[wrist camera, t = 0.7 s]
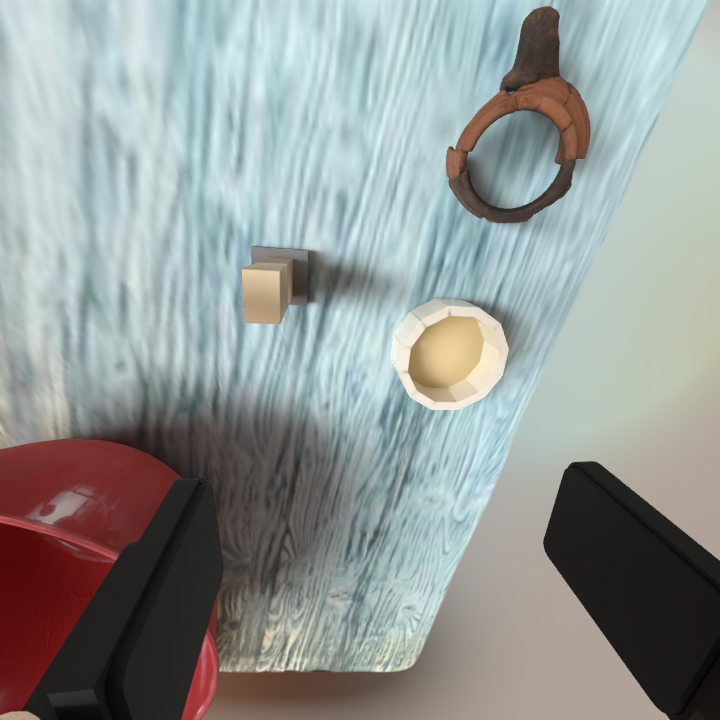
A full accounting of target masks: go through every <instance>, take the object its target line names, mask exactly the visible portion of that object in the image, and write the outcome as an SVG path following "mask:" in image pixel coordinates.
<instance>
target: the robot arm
mask: <svg viewBox="0 0 720 720" xmlns="http://www.w3.org/2000/svg"><path fill="white" fill-rule="evenodd" d="M543 544H544V549H545V552H546V554H547V556H548V557H549V559H550V560H551V561H552V563H553V564H554V566H555V567H556V568H557V570H558V571H559V573H560V574H561V575H562V577H563V578H564V579H565V581H566V582H567V584H568V585H569V587H570V588H571V589H572V591H573V592H574V594H575V595H576V596H577V598H578V599H579V600H580V602H581V603H582V605H583V606H584V608H585V609H586V610H587V612H588V613H589V614H590V616H591V617H592V619H593V620H594V621H595V623H596V624H597V626H598V627H599V628H600V630H601V631H602V632H603V634H604V635H605V637H606V638H607V640H608V641H609V642H610V644H611V645H612V647H613V648H614V649H615V651H616V652H617V653H618V655H619V656H620V658H621V659H622V661H623V662H624V663H625V665H626V666H627V668H628V669H629V670H630V672H631V673H632V675H633V676H634V677H635V679H636V680H637V681H638V683H639V684H640V686H641V687H642V688H643V690H644V691H645V693H646V694H647V696H648V697H649V698H650V700H651V701H652V702H653V703H654V705H655V706H656V707H657V708H658V709H659V710H660V711H662V712H663V713H666V715H667V716H668V718H669V719H670V720H720V561H719V560H718V559H717V558H715V557H714V556H713V555H712V554H711V553H709V552H708V551H707V550H706V549H704V548H703V547H702V546H701V545H699V544H698V543H697V542H696V541H694V540H693V539H692V538H691V537H689V536H688V535H687V534H686V533H685V532H683V531H682V530H681V529H680V528H678V527H677V526H676V525H674V524H673V523H672V522H671V521H670V520H668V519H667V518H666V517H665V516H663V515H662V514H661V513H660V512H659V511H657V510H656V509H655V508H654V507H652V506H651V505H650V504H649V503H648V502H646V501H645V500H644V499H643V498H641V497H640V496H639V495H637V494H636V493H635V492H634V491H633V490H631V489H630V488H629V487H628V486H626V485H625V484H624V483H623V482H621V481H620V480H619V479H618V478H617V477H615V476H614V475H613V474H612V473H610V472H609V471H608V470H607V469H605V468H604V467H603V466H602V465H600V464H599V463H597V462H593V461H589V462H574V463H571V464H570V465H569V467H568V468H567V469H566V470H565V471H564V474H563V477H562V480H561V484H560V487H559V490H558V494H557V497H556V500H555V504H554V507H553V511H552V514H551V517H550V521H549V524H548V527H547V530H546V534H545V537H544V541H543ZM222 573H223V561H222V553H221V546H220V539H219V532H218V525H217V517H216V510H215V503H214V496H213V489H212V485H211V484H205V482H204V480H203V478H187V479H177V480H175V481H174V483H173V484H172V486H171V487H170V489H169V491H168V492H167V494H166V496H165V498H164V499H163V501H162V503H161V504H160V506H159V508H158V509H157V511H156V513H155V514H154V516H153V518H152V519H151V521H150V523H149V524H148V526H147V528H146V529H145V531H144V533H143V534H142V536H141V538H140V539H139V541H138V542H131V543H129V544H128V545H127V546H126V547H125V548H124V549H123V551H122V552H121V553H120V555H119V556H118V558H117V559H116V561H115V563H114V564H113V566H112V567H111V569H110V570H109V572H108V574H107V575H106V577H105V578H104V580H103V582H102V583H101V585H100V586H99V588H98V589H97V591H96V593H95V594H94V596H93V597H92V599H91V601H90V602H89V604H88V605H87V607H86V608H85V610H84V612H83V613H82V615H81V616H80V618H79V620H78V621H77V623H76V624H75V626H74V627H73V629H72V631H71V632H70V634H69V635H68V637H67V638H66V640H65V642H64V643H63V645H62V646H61V648H60V650H59V651H58V653H57V654H56V656H55V657H54V659H53V661H52V662H51V664H50V665H49V667H48V669H47V670H46V672H45V673H44V675H43V676H42V678H41V680H40V681H39V683H38V684H37V686H36V688H35V689H34V691H33V692H32V694H31V695H30V697H29V699H28V700H27V702H26V703H25V705H24V707H23V708H22V710H21V711H20V712H9V713H6V714H3V715H0V720H181V718H182V715H183V711H184V708H185V705H186V701H187V698H188V694H189V691H190V687H191V684H192V680H193V677H194V673H195V670H196V666H197V663H198V659H199V656H200V652H201V649H202V645H203V642H204V639H205V635H206V632H207V628H208V625H209V621H210V618H211V614H212V611H213V607H214V604H215V600H216V597H217V593H218V590H219V586H220V583H221V579H222Z"/></svg>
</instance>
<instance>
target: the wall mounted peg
mask: <svg viewBox="0 0 720 720" xmlns="http://www.w3.org/2000/svg"><path fill="white" fill-rule="evenodd" d="M251 259H252V265H250V266H248V267H246V268H244V269H242V280H243V299H244V318H245V323H263V324H280V323H281V321H282V319H283V317H284V314H285V312H286V310H287V308H288V305H307V302H308V250H300V249H285V248H271V247H256V246H253V247H251Z"/></svg>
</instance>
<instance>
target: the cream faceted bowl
mask: <svg viewBox="0 0 720 720" xmlns="http://www.w3.org/2000/svg"><path fill="white" fill-rule="evenodd" d="M410 311H411V312H410ZM410 311H409V313H408V314H407V315H406V317H405V318H404V320H403V321H402V322H401V324H400V325H399V327H398V328H397V329H396V331H395V332H394V334H393V343H392V352H391V361H392V363H393V365H394V367H395V369H396V371H397V373H398V375H399V377H400V380H401V381H402V383H403V385H404V387H405V389H406V391H407V393H408V395H409V396H410V397H411V398H412V399H414V400H416V401H418V402H419V403H421V404H423V405H424V406H426V407H428V408H429V409H432V410H460V409H462V408H464V407H466V406H468V405H470V404H472V403H474V402H476V401H479V400H481V399H483V397H485V396H486V395H487V394H488V393H489V391H490V390H491V389H492V388H493V387H494V385H495V384H496V383H497V382H498V381H499V380H500V378H501V377H502V376H503V372H504V368H505V363H506V359H507V355H508V351H509V348H508V345H507V342H506V338H505V335H504V332H503V329H502V326H501V324H500V323H499V322H498V321H496V320H495V319H494V318H492V317H491V316H490V315H488V314H487V313H486V312H484V311H483V310H481V309H480V308H479V307H477V306H474V305H472V304H470V303H468V302H466V301H464V300H462V299H444V298H436V299H435V298H434V299H432V300H430V301H428V302H426V303H424V304H422V305H420V306H418V307H416V308H414V309H412V310H410Z"/></svg>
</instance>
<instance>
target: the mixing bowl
mask: <svg viewBox="0 0 720 720" xmlns="http://www.w3.org/2000/svg"><path fill="white" fill-rule="evenodd" d="M177 479H182V478H181V477H180V476H179V475H178V474H177V473H176V472H175V471H174V470H172V469H171V468H170V467H169V466H168V465H166V464H165V463H163V462H161V461H160V460H158V459H156V458H155V457H153V456H151V455H149V454H147V453H145V452H142V451H140V450H137V449H135V448H132V447H130V446H126V445H124V444H118V443H114V442H109V441H103V440H91V439H62V440H52V441H44V442H37V443H30V444H25V445H20V446H15V447H10V448H5V449H0V715H3V714H6V713H9V712H20V711H21V710H22V708H23V707H24V705H25V703H26V702H27V700H28V699H29V697H30V695H31V694H32V692H33V691H34V689H35V688H36V686H37V684H38V683H39V681H40V680H41V678H42V676H43V675H44V673H45V672H46V670H47V669H48V667H49V665H50V664H51V662H52V661H53V659H54V657H55V656H56V654H57V653H58V651H59V650H60V648H61V646H62V645H63V643H64V642H65V640H66V638H67V637H68V635H69V634H70V632H71V631H72V629H73V627H74V626H75V624H76V623H77V621H78V620H79V618H80V616H81V615H82V613H83V612H84V610H85V608H86V607H87V605H88V604H89V602H90V601H91V599H92V597H93V596H94V594H95V593H96V591H97V589H98V588H99V586H100V585H101V583H102V582H103V580H104V578H105V577H106V575H107V574H108V572H109V570H110V569H111V567H112V566H113V564H114V563H115V561H116V559H117V558H118V556H119V555H120V553H121V552H122V551H123V549H124V548H125V547H126V546H127V545H128V544H129V543H131V542H138V541H139V539H140V538H141V536H142V534H143V533H144V531H145V529H146V528H147V526H148V524H149V523H150V521H151V519H152V518H153V516H154V514H155V513H156V511H157V509H158V508H159V506H160V504H161V503H162V501H163V499H164V498H165V496H166V494H167V492H168V491H169V489H170V487H171V486H172V484H173V483H174V481H175V480H177ZM216 638H217V597H216V600H215V604H214V607H213V611H212V614H211V618H210V621H209V625H208V628H207V632H206V635H205V639H204V642H203V645H202V649H201V652H200V656H199V659H198V663H197V666H196V670H195V673H194V677H193V680H192V684H191V687H190V691H189V694H188V698H187V701H186V705H185V708H184V711H183V715H182V718H181V720H201V719H202V718H203V716H204V715H205V713H206V712H207V710H208V708H209V706H210V705H211V703H212V701H213V698H214V696H215V693H216V689H217V685H218V679H219V657H218V652H217V648H216Z"/></svg>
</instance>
